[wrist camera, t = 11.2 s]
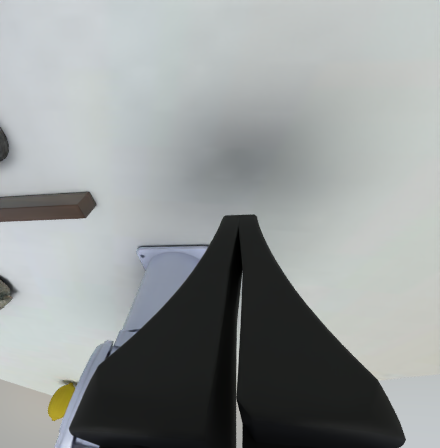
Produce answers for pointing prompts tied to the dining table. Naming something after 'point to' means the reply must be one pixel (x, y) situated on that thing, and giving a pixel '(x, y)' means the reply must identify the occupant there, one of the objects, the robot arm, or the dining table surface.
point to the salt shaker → (3, 146)
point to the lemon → (60, 401)
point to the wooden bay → (46, 207)
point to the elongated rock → (4, 294)
